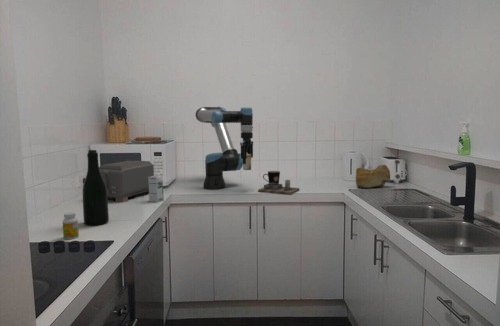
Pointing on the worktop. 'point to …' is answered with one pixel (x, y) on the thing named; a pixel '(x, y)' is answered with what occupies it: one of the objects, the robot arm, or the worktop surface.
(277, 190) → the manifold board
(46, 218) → the worktop surface
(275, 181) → the coffee mug
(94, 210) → the dark green wine bottle
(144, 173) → the toaster
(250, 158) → the gold tall rounded piece
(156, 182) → the syrup box
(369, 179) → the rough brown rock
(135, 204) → the worktop surface
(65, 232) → the supplement bottle
